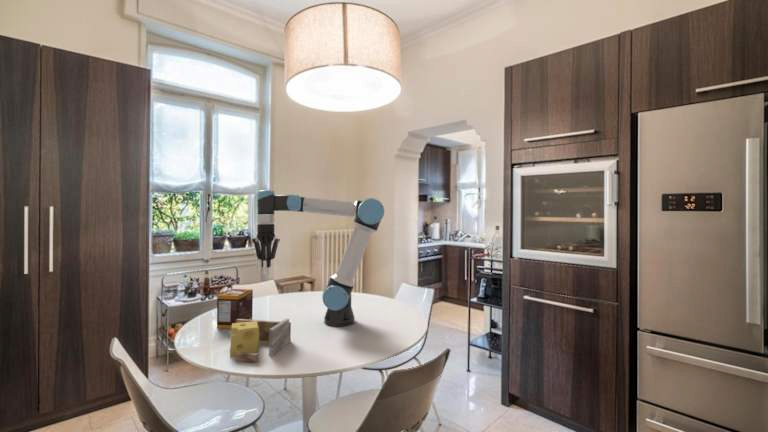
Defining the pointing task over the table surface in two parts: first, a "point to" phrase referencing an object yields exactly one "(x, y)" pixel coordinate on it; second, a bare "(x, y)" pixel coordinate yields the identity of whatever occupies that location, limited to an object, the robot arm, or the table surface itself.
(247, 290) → the supplement box
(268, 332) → the shelf
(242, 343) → the cheese
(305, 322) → the table surface
